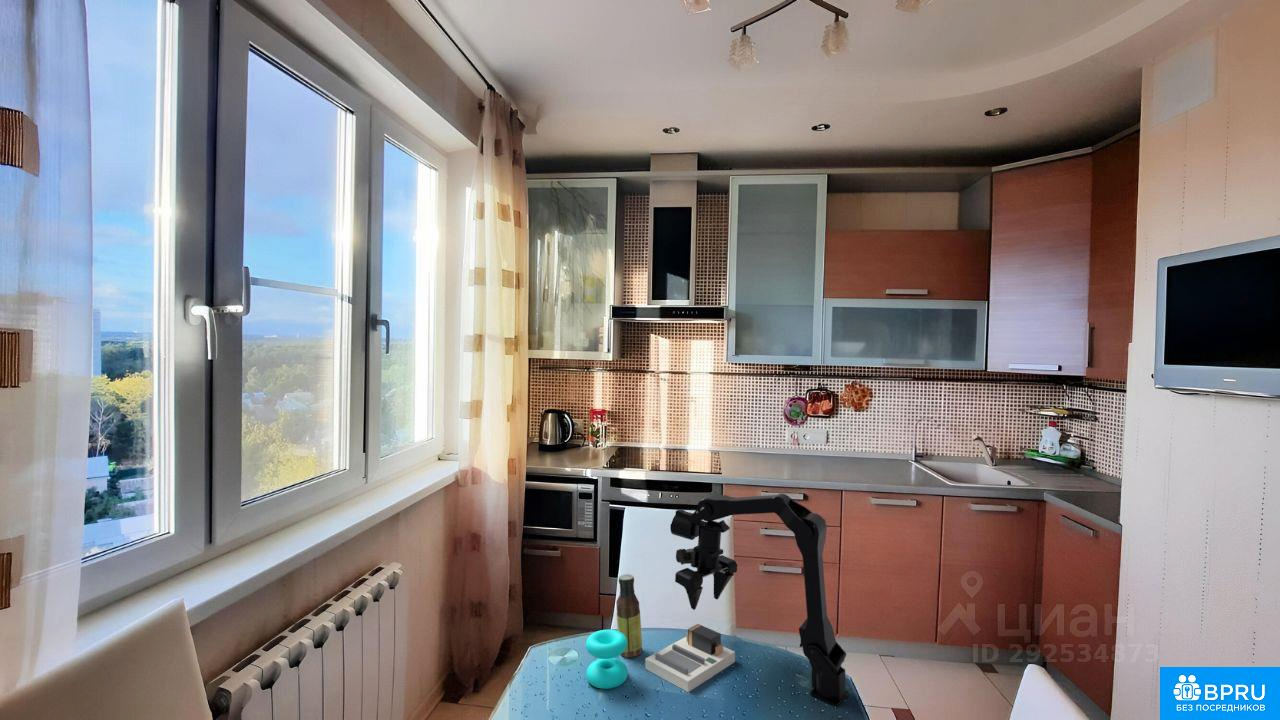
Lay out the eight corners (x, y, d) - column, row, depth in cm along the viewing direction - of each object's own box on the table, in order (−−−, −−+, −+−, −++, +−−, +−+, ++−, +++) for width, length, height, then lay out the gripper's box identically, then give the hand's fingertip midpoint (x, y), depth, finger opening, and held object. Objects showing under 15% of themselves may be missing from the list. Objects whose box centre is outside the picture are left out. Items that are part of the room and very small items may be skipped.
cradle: (735, 661, 135) (734, 643, 135) (688, 692, 123) (687, 672, 123) (692, 642, 145) (692, 625, 145) (645, 668, 133) (645, 650, 133)
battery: (721, 649, 137) (720, 633, 137) (711, 655, 134) (710, 639, 134) (697, 638, 142) (696, 623, 142) (686, 644, 140) (686, 628, 140)
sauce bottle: (643, 646, 144) (641, 572, 144) (640, 659, 137) (639, 581, 138) (619, 646, 144) (617, 571, 145) (615, 658, 138) (614, 580, 138)
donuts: (634, 632, 131) (613, 651, 122) (635, 673, 131) (614, 695, 122) (599, 624, 136) (577, 642, 127) (600, 664, 136) (578, 684, 127)
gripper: (707, 528, 150) (703, 582, 151) (661, 542, 137) (657, 601, 138) (740, 540, 142) (736, 598, 143) (694, 556, 129) (690, 620, 130)
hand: (704, 603), depth 138 cm, fingers open, 9 cm apart
